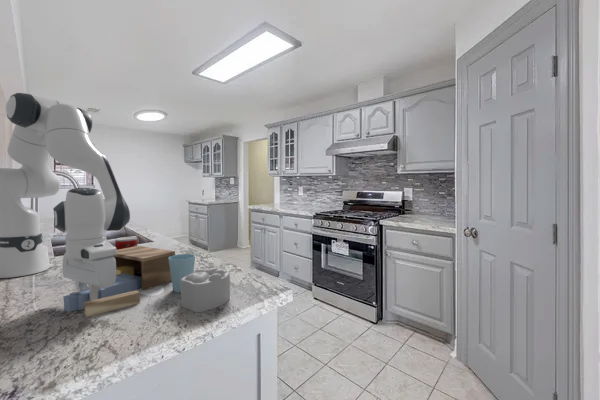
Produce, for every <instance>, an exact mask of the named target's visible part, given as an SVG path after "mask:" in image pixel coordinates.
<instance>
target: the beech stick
mask: <svg viewBox="0 0 600 400" xmlns="http://www.w3.org/2000/svg"><path fill="white" fill-rule="evenodd" d="M140 298H141V297H140V291H139V290H135V291H131V292H127V293H122V294H118V295H114V296H109V297H105V298H101V299H97V300H92V301H88V302H84V309H83V311H84V316H85V317H86V318H87V317H92V316H95V315H100V314H104V313H106V312H111V311H115V310H118V309H122V308H127V307H129V306H133V305H137V304H140V303H141V299H140Z"/></svg>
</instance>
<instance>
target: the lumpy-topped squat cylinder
mask: <svg viewBox="0 0 600 400" xmlns="http://www.w3.org/2000/svg"><path fill="white" fill-rule="evenodd" d="M230 274H231V273H230V272H229V271H228V270H224V269H222V268H217V267H211V268H209V269H206V270H205V269H204V268H197V269H195V270H194V273H192V274H189V275H188V276H185V277H183V278H182V279H181V293H180V303H181V304H180V307H183V308H185V309H188V310H189V311H191V312H193V313H194V312H195V313H201V312H202V313H203V312H206V311H209V310H213V309H215V308H217V307H220V306H222V305H224V304H227V302H228V301H229V300H230V299H231V287H230V285H231V284H230V283H231V280H230V279H231V278H230Z"/></svg>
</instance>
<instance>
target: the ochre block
mask: <svg viewBox="0 0 600 400" xmlns="http://www.w3.org/2000/svg"><path fill="white" fill-rule="evenodd" d="M123 273H125V274H129V275H134V276H135V274H134V267H130V266H125V265H124V266H120V267H116V275H119V274H123Z"/></svg>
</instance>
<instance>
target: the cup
mask: <svg viewBox="0 0 600 400" xmlns="http://www.w3.org/2000/svg"><path fill="white" fill-rule="evenodd" d="M168 259H169V266H170V273H171V280H172V281H171V286H172V291H173V293H177V294H178V293H180V294H181V279H182V278H183V277H185V276H188V275H189V274H192V273H194V272H195V261H196V255H195V254H193V253H182V254H175V255H173V256H170V257H169V258H168Z"/></svg>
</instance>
